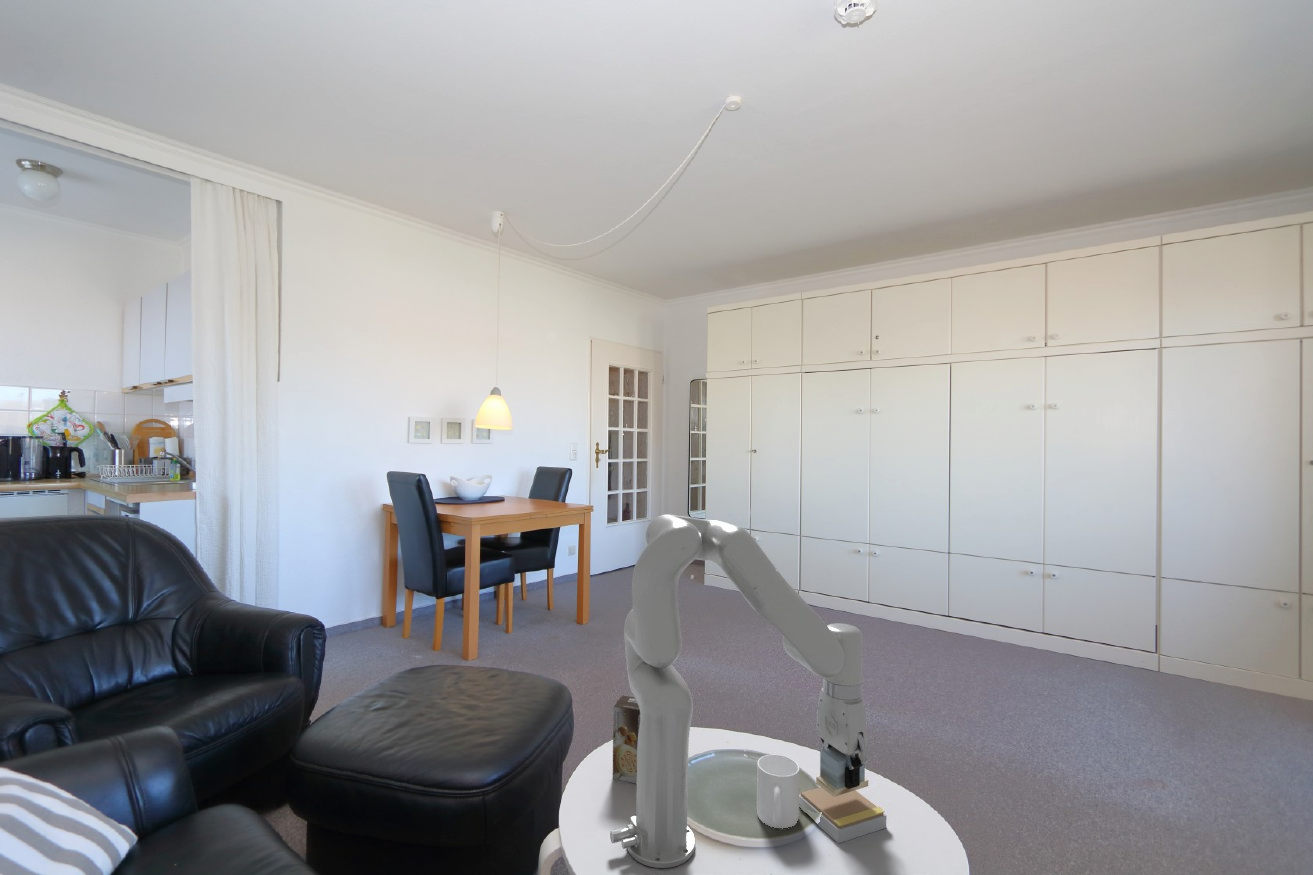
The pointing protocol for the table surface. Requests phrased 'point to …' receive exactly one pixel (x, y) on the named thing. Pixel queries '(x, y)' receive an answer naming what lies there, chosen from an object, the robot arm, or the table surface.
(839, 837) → the dock
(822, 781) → the banded blue box
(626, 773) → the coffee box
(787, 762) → the mug
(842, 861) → the table surface
